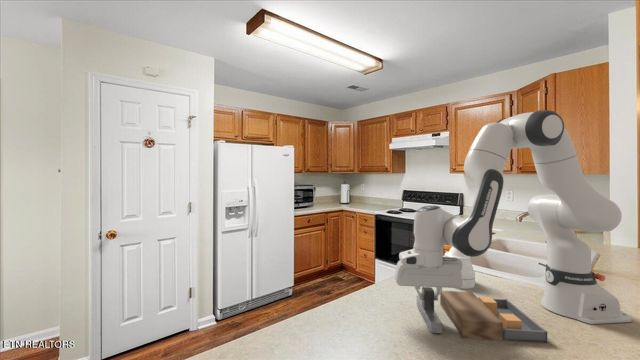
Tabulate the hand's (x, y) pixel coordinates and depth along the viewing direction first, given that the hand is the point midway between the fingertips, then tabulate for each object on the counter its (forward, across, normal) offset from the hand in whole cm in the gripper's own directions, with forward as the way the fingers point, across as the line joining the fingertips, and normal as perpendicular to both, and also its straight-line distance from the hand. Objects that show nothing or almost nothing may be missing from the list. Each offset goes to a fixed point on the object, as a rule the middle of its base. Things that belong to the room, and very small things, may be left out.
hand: (427, 299), depth 89 cm
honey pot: (+6, -21, -32) cm, 39 cm away
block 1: (+4, -18, -5) cm, 20 cm away
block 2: (+4, -20, +6) cm, 21 cm away
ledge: (+6, -12, 0) cm, 14 cm away
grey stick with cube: (+6, 0, 0) cm, 6 cm away
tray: (+6, -23, 0) cm, 24 cm away
